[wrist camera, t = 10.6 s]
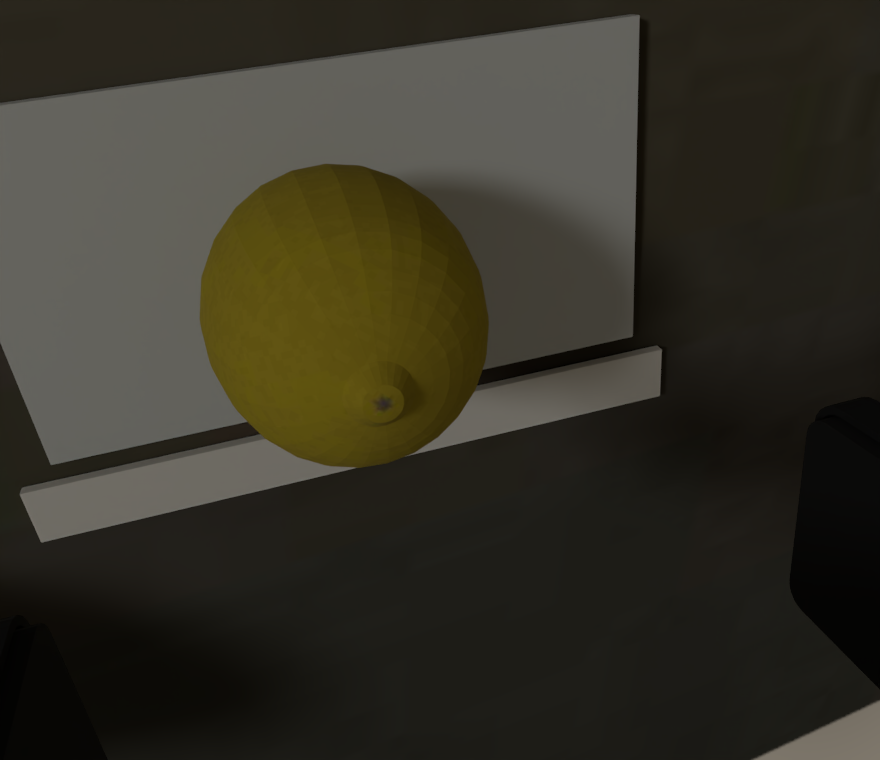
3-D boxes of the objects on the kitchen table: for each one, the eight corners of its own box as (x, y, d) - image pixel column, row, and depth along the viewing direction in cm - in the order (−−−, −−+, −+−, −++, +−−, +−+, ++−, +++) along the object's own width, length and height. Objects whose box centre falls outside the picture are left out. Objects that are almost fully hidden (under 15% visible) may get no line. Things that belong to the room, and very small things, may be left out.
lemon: (454, 162, 19) (596, 276, 12) (394, 366, 21) (487, 557, 15) (221, 101, 17) (239, 196, 11) (180, 331, 19) (172, 535, 13)
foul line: (654, 391, 25) (659, 396, 24) (43, 535, 21) (41, 542, 21) (656, 345, 24) (661, 349, 24) (21, 487, 21) (19, 494, 20)
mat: (626, 331, 23) (632, 336, 23) (53, 456, 20) (51, 464, 20) (631, 14, 19) (639, 15, 19) (-87, 115, 16) (-93, 119, 16)
